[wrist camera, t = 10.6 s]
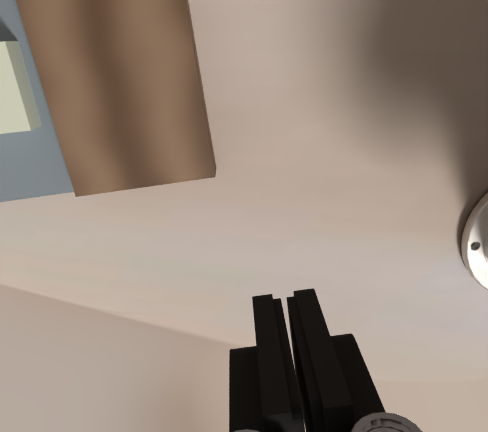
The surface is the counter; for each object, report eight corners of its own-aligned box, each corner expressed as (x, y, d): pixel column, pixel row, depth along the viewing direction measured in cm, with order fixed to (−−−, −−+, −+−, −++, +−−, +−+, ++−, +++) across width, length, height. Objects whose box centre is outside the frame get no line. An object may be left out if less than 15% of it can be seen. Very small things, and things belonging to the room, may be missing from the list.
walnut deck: (178, -55, 30) (174, -63, 27) (216, 168, 36) (215, 177, 33) (22, -31, 30) (4, -37, 27) (85, 186, 36) (75, 196, 34)
